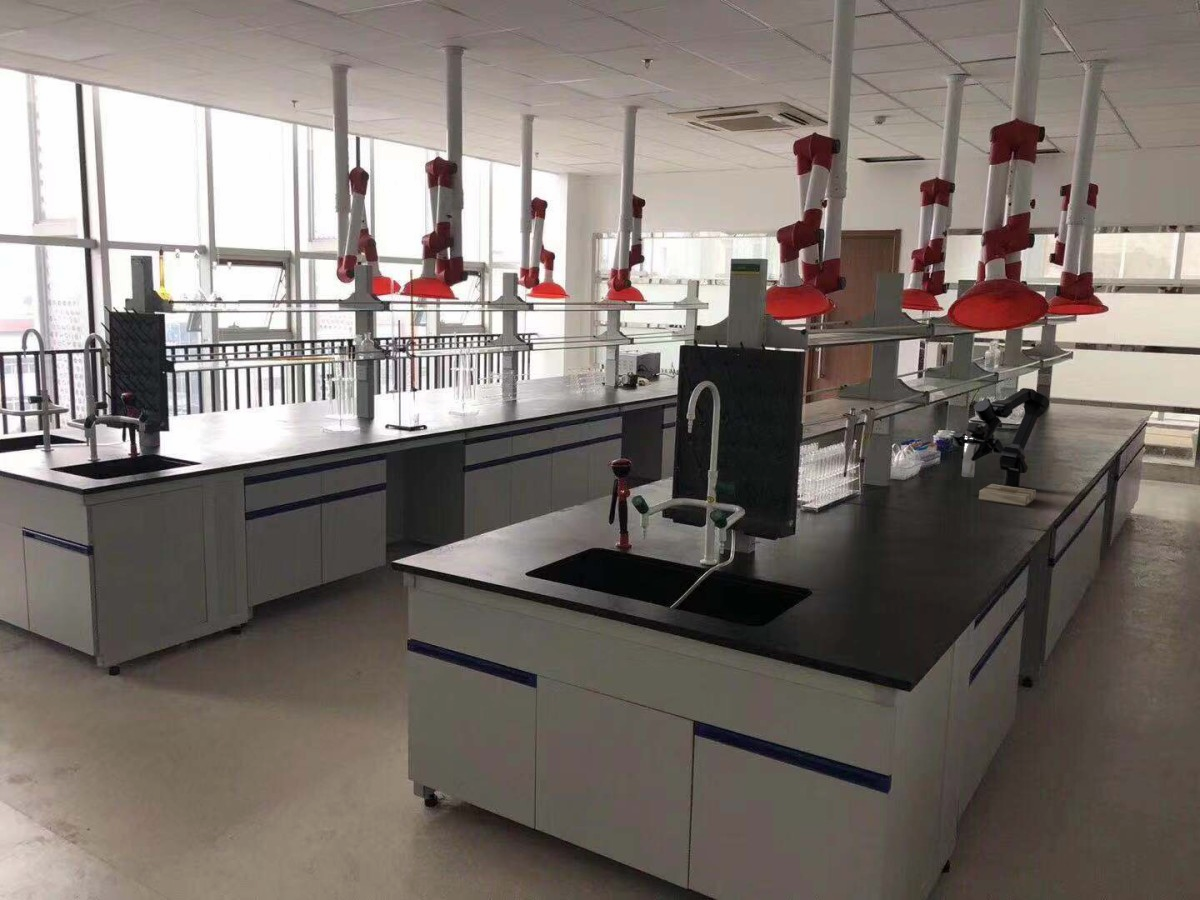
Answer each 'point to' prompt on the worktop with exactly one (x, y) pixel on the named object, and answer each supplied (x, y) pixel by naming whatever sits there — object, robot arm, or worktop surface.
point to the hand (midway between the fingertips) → (967, 459)
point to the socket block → (1007, 495)
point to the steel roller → (968, 459)
